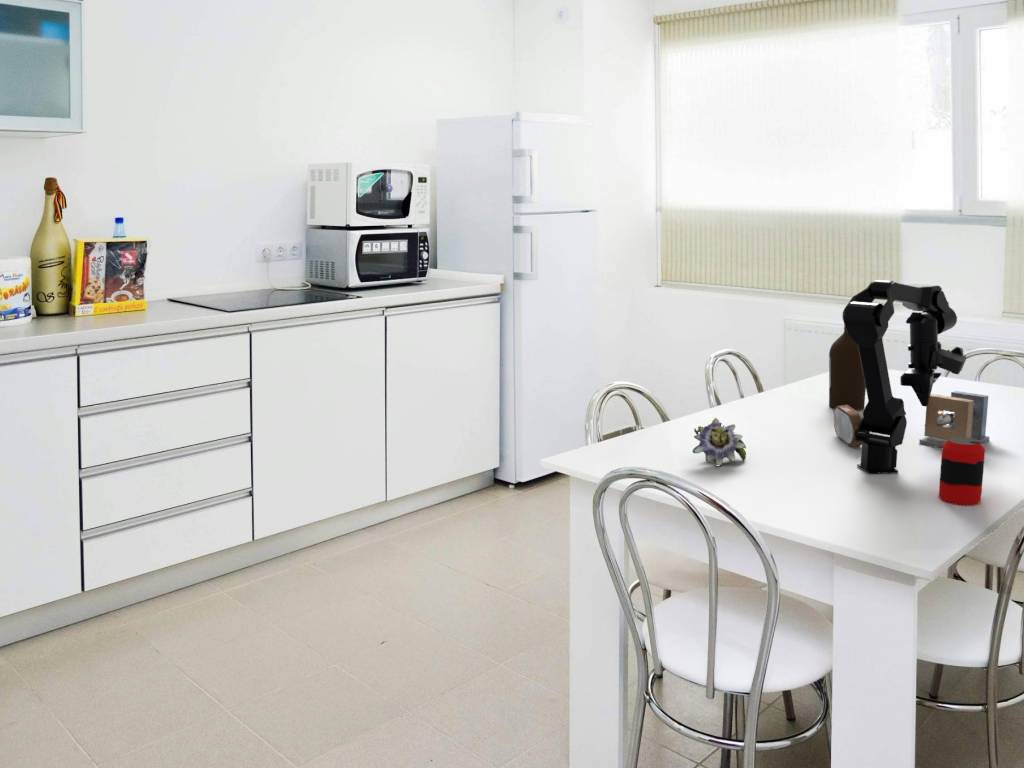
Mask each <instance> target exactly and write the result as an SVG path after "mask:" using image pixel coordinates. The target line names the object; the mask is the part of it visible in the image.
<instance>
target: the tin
mask: <svg viewBox="0 0 1024 768" xmlns="http://www.w3.org/2000/svg"><path fill="white" fill-rule="evenodd" d="M861 419H862V416H861V414H860V412H859V411H858V410H854V409H853V408H851V407H850V406H848V405H843V406H837V407H835V409H833V425H834V426H833V427H834V431H835V435H836V436H837V438H838V437H839V438H838V439H840V440H841V441H842V442H843V441H844V442H843V443H844V444H846V445H847V444H848V445H849V447H862V441H856V439H855V431H856V429H857V427H858V425H859V423H860V421H861ZM848 445H847V446H848Z"/></svg>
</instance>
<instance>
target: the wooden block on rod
mask: <svg viewBox="0 0 1024 768" xmlns="http://www.w3.org/2000/svg"><path fill="white" fill-rule="evenodd" d="M973 405H974V400H969V399H962V398H956V397H951V396H948V395H942V394H935V393H931V394H930V398H929V403H928V405H927V406H925V423H924V434H923V435H924V437H933V438H938V439H944V440H948V439H949V438H953V437H964V438H971V430H972V417H973ZM944 411H946V412H949V413H950V412H955V419H954V426H950V425H949V424H947V425H943V426H941V425H939V424H938V423H937V418H938V417H939V416H941V415H944Z"/></svg>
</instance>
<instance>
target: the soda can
mask: <svg viewBox="0 0 1024 768" xmlns="http://www.w3.org/2000/svg"><path fill="white" fill-rule="evenodd" d="M982 444H983V443H982ZM982 444H981V443H980V441H978V440H976V439H971V438H964V437H953V438H949V439H948V440H947V441H946V442H945V443H944V444H943V445H942V448H941V457H940V458H941V459H940V460H941V461H940V470H939V471H940V473H939V487H938V498H939V499H940V500H941V501H943V502H944V501H945V502H944V503H948V504H950V503H951V505H955V504H957V505H956V506H976V505H979V503H980V502H981V501H982V490H983V481H984V480H983V479H984V465H985V455H986V454H985V453H986V449H985V447H984V446H983V445H982ZM975 504H976V505H975Z"/></svg>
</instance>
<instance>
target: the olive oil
mask: <svg viewBox="0 0 1024 768" xmlns="http://www.w3.org/2000/svg"><path fill="white" fill-rule="evenodd" d="M828 353H829V354H828V365H829V366H828V372H829V373H828V377H829V378H828V381H829V382H828V387H829V388H828V393H829V394H828V398H829V399H828V406H829V407H830V408H831V409H833V408H835V407H837V406H843V405H848V406H850V407H851V408H853V409H854V410H856V411H861V410H864V409H865V405H866V404H865V403H866V393H867V391H866V386H865V380H864V375H863V370H862V365H861V359H860V354H859V349H858V345H857V343H856V342H855V341H854V340H853V339H852V338H851V337H850V336H849V335H848V333H847V330H846V327H845V324H844V323H843V332H842V334H841V335H840V336H839V337H838V338H837V339H836V340H835V341H833V343H832V344H831V346H830V349H829V352H828Z"/></svg>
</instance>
